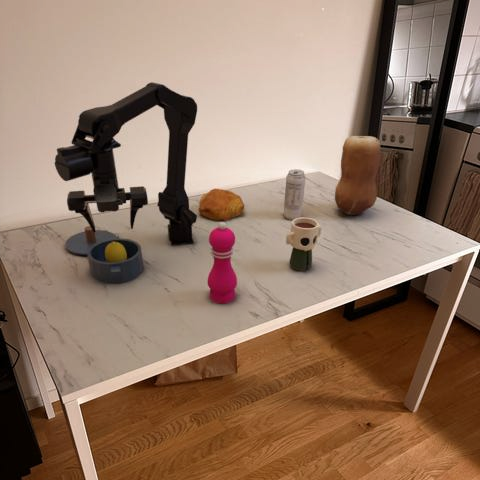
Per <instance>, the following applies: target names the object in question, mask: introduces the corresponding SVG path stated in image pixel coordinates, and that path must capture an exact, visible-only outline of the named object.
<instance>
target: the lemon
mask: <svg viewBox="0 0 480 480" xmlns="http://www.w3.org/2000/svg"><path fill="white" fill-rule="evenodd" d="M105 258H106V261H107V262H109V263H111V262H120V261H124V260H127V254H126V250H125V248H124V247H123V245H122V244H120V243H118V242H112V243H110V244H108V245H107V247H106V249H105Z"/></svg>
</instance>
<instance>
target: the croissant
mask: <svg viewBox="0 0 480 480" xmlns="http://www.w3.org/2000/svg"><path fill="white" fill-rule="evenodd" d="M244 210H245V204H244V201H243V199H242V197H241V196H240V195H239V194H236V193H234V192H233V191H231V190H227V189H220V188H212V189H210V190H209V191H208V192H206V193H204V194H202V196H201V198H200V200H199V205H198V213H199V214H200V215H201V216H203V217H205V218H208V219H211V220H218V221H219V220H224V221H228V220H231V219H232V218H236V217H238V216H240V215H241V214H242V213H243V212H244Z"/></svg>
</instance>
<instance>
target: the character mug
mask: <svg viewBox="0 0 480 480" xmlns="http://www.w3.org/2000/svg"><path fill="white" fill-rule="evenodd" d="M321 234H322V225H319V222H318V221H317V220H316V219H314V218H310V217H302V216H300V218H296V219H294V220H291V225H290V232H287V233H286V238H285V244H286V245H290V246H291V247H292V249H291V252H290V253H291V254H290V258H289V262H288V263H289V264H288V265H290V267H291V268H292V269H294V270H297V271H307V270H306V269H307V267H308V270H310V269H311V268H312V267H313V249H314V248H315V247H316V246H317V243H318V238H319V237H321Z"/></svg>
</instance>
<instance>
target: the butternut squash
mask: <svg viewBox="0 0 480 480" xmlns="http://www.w3.org/2000/svg"><path fill="white" fill-rule="evenodd" d="M381 147H382V146H381V143H380V140H379V139H378V138H376V137H375V136H370V135H364V136H363V135H352V136H349V137H346V138H345V140H344V143H343V145H342V152H341V159H340V171H341V173H340V174H341V175H340V178H339V181H338V183H337V185H336V186H335V191H334V201H335V204H336V207H337V208H338V209H339V210H341V211H342V212H343V213H344V214H347V215H352V216H359V215H361V214H362V213H364V212H366V211H368V209H371V208H372V207H373V206H374V205H375V203H376V202H377V201H376V200H378V198H377V197H378V189H377V183H376V180H377V174H378V171H379V167H380V163H381V155H382V154H381V152H382V148H381Z"/></svg>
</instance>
